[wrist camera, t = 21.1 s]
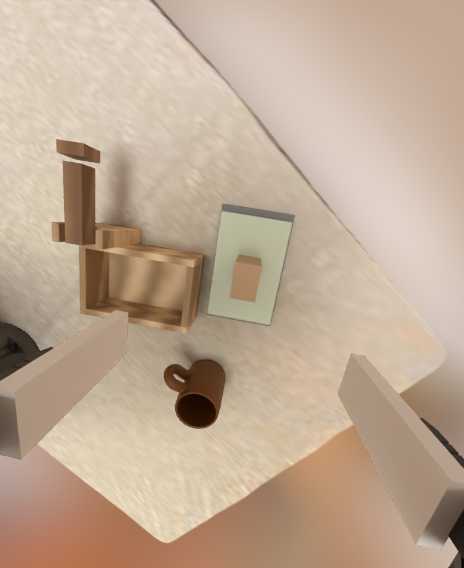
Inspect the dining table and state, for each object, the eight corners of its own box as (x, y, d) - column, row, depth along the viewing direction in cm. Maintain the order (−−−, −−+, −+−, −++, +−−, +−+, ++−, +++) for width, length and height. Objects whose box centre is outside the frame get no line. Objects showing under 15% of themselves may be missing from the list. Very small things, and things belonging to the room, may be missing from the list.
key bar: (77, 240, 33) (60, 241, 30) (75, 147, 30) (56, 139, 27) (99, 244, 33) (84, 246, 30) (100, 151, 29) (83, 143, 27)
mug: (166, 358, 46) (145, 390, 37) (192, 336, 44) (176, 364, 35) (207, 396, 48) (196, 437, 38) (233, 377, 46) (228, 414, 37)
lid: (223, 211, 38) (213, 206, 28) (290, 222, 37) (303, 221, 27) (209, 309, 42) (196, 334, 32) (268, 320, 42) (273, 349, 32)
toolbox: (101, 298, 44) (56, 320, 34) (102, 223, 40) (51, 222, 30) (196, 316, 43) (179, 344, 33) (206, 240, 39) (190, 245, 29)
